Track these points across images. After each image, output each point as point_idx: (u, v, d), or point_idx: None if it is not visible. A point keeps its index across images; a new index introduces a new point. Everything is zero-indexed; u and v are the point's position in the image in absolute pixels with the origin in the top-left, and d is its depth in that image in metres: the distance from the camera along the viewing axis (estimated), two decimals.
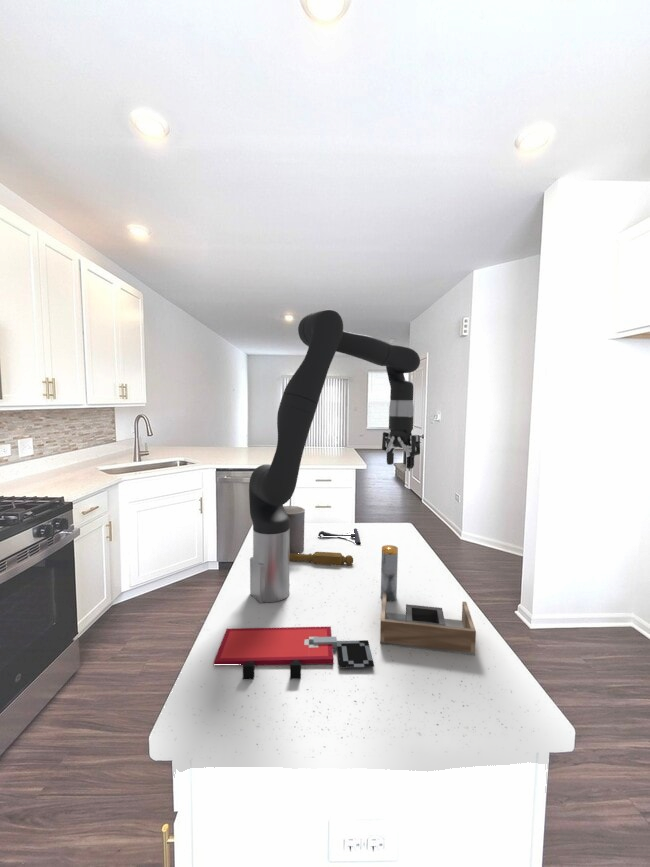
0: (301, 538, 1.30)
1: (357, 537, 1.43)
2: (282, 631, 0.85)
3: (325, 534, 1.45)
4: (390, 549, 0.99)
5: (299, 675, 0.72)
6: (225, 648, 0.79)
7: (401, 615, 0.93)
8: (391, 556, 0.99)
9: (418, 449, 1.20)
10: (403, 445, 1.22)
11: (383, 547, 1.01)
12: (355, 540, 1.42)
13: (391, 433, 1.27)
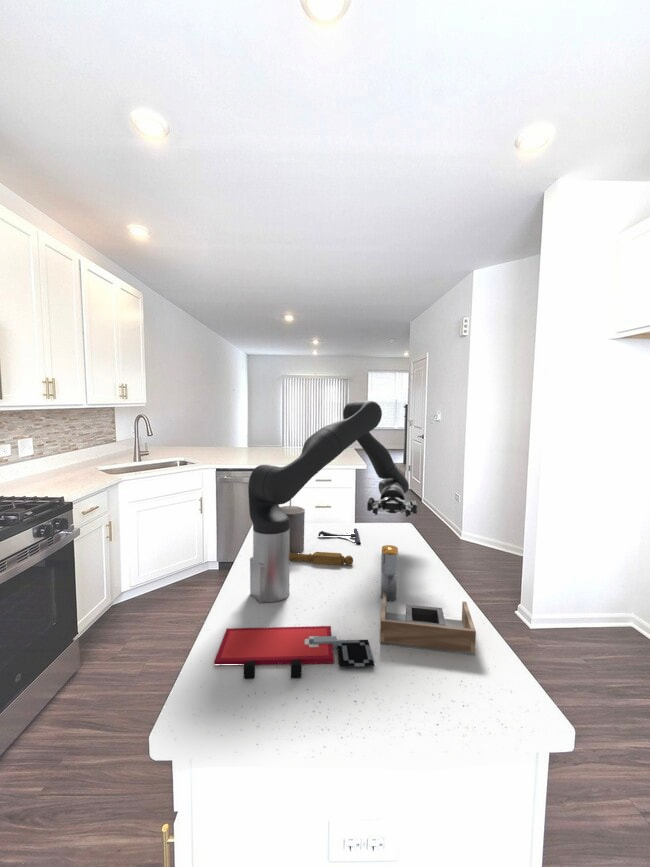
0: (301, 538, 1.30)
1: (357, 537, 1.43)
2: (282, 631, 0.85)
3: (325, 534, 1.45)
4: (390, 549, 0.99)
5: (300, 674, 0.72)
6: (225, 647, 0.79)
7: (401, 615, 0.93)
8: (391, 556, 0.99)
9: None
10: (402, 500, 1.17)
11: (383, 547, 1.01)
12: (355, 540, 1.42)
13: (382, 498, 1.21)
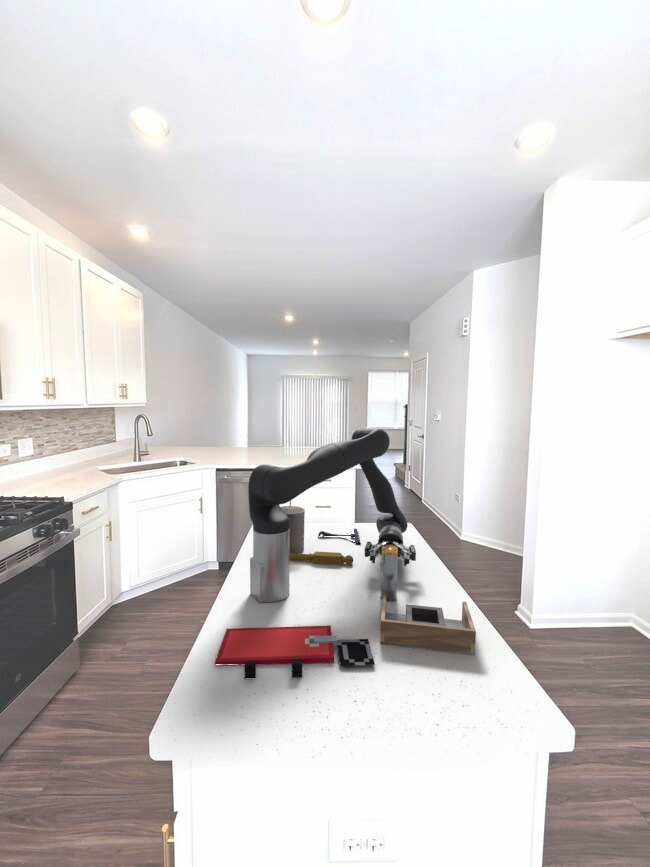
0: (301, 538, 1.30)
1: (357, 537, 1.43)
2: (282, 630, 0.85)
3: (325, 534, 1.45)
4: (390, 549, 0.99)
5: (301, 674, 0.72)
6: (226, 648, 0.79)
7: (401, 615, 0.93)
8: (391, 556, 0.99)
9: None
10: (400, 546, 1.14)
11: (383, 547, 1.01)
12: (355, 540, 1.42)
13: (380, 542, 1.18)
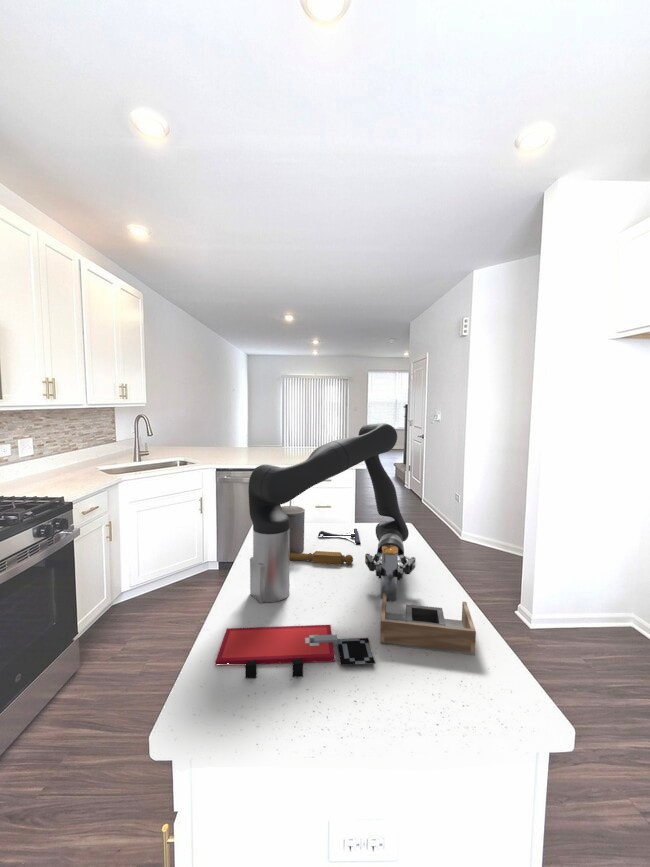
0: (301, 538, 1.30)
1: (357, 537, 1.43)
2: (282, 630, 0.85)
3: (325, 534, 1.45)
4: (390, 549, 0.99)
5: (301, 673, 0.72)
6: (226, 647, 0.79)
7: (401, 615, 0.93)
8: (391, 556, 0.99)
9: None
10: (398, 558, 1.05)
11: (383, 547, 1.01)
12: (355, 540, 1.42)
13: (378, 553, 1.10)
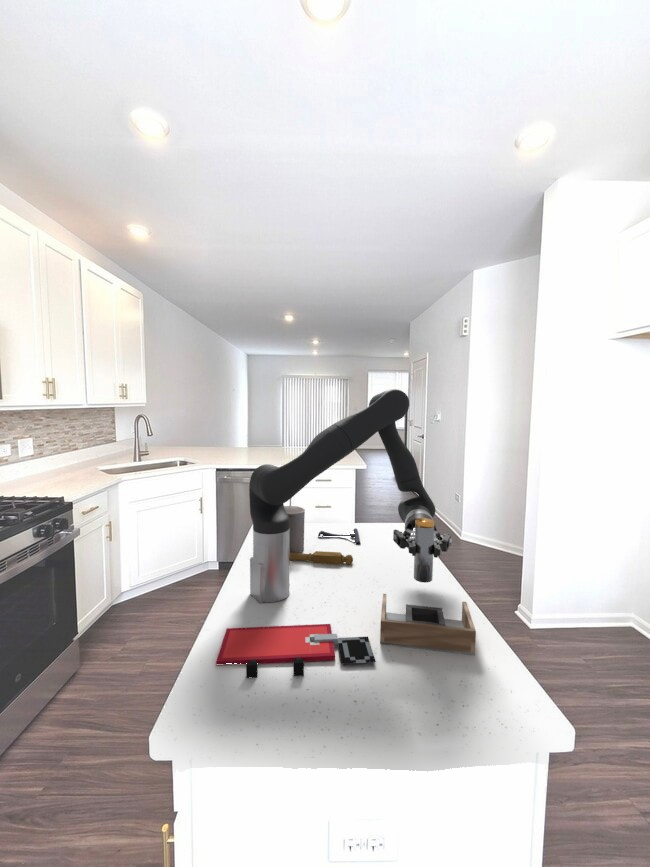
0: (301, 538, 1.30)
1: (357, 537, 1.43)
2: (282, 629, 0.86)
3: (325, 534, 1.45)
4: (426, 522, 0.86)
5: (302, 672, 0.73)
6: (226, 647, 0.79)
7: (401, 615, 0.93)
8: (427, 529, 0.85)
9: None
10: None
11: (417, 520, 0.87)
12: (355, 540, 1.42)
13: (408, 529, 0.96)
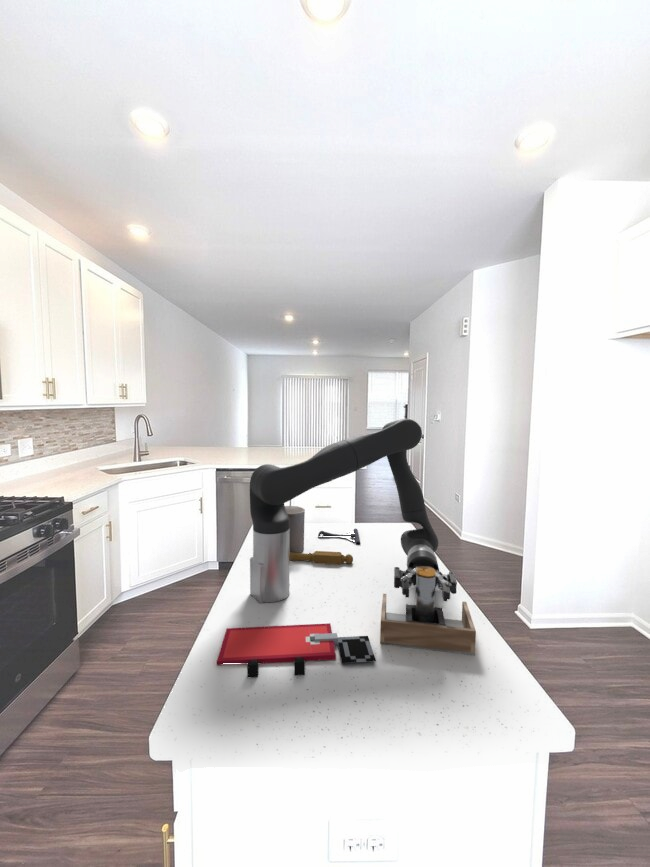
0: (301, 538, 1.30)
1: (357, 537, 1.43)
2: (282, 629, 0.86)
3: (325, 534, 1.45)
4: (427, 571, 0.86)
5: (303, 672, 0.73)
6: (227, 647, 0.79)
7: (401, 615, 0.93)
8: (429, 579, 0.85)
9: None
10: (437, 574, 0.91)
11: (418, 569, 0.87)
12: (355, 540, 1.42)
13: (410, 568, 0.95)
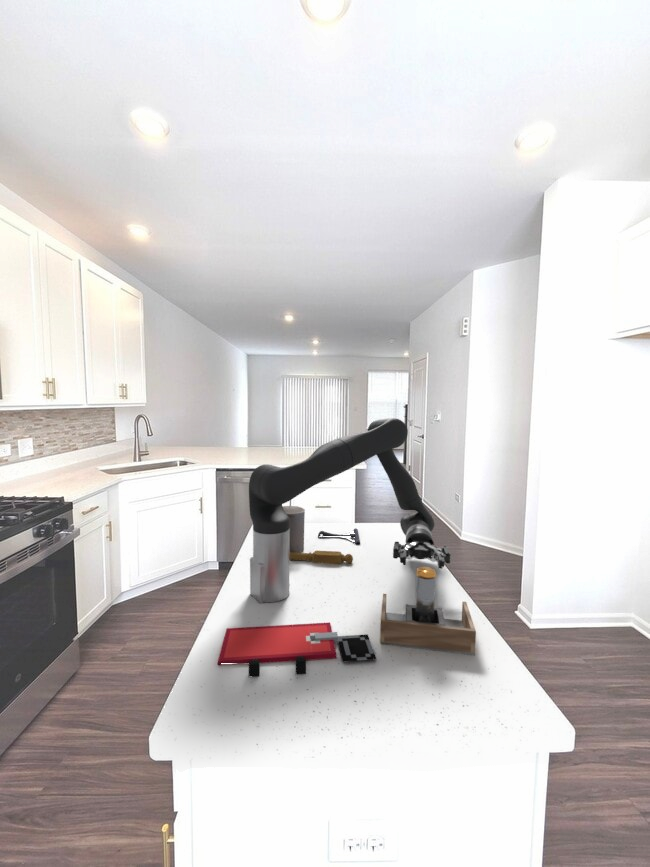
0: (301, 538, 1.30)
1: (357, 537, 1.43)
2: (283, 629, 0.86)
3: (325, 534, 1.45)
4: (427, 573, 0.85)
5: (304, 671, 0.73)
6: (228, 647, 0.79)
7: (401, 615, 0.93)
8: (429, 580, 0.84)
9: None
10: (433, 547, 1.03)
11: (418, 570, 0.87)
12: (355, 540, 1.42)
13: (409, 543, 1.08)
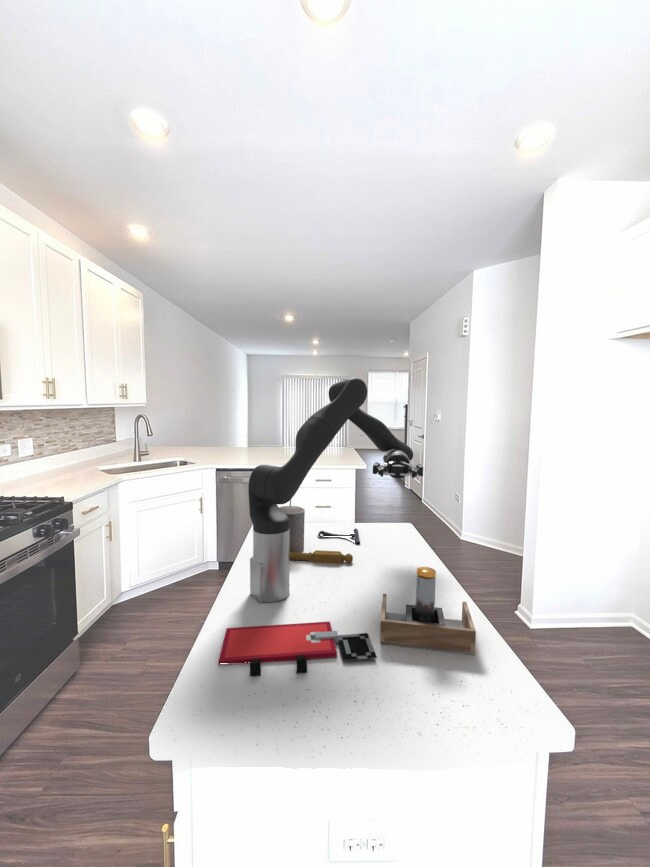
0: (301, 538, 1.30)
1: (357, 537, 1.43)
2: (283, 628, 0.86)
3: (325, 534, 1.45)
4: (427, 572, 0.85)
5: (305, 670, 0.73)
6: (228, 647, 0.80)
7: (401, 615, 0.93)
8: (429, 580, 0.85)
9: None
10: (408, 464, 1.16)
11: (418, 570, 0.87)
12: (355, 540, 1.42)
13: None
